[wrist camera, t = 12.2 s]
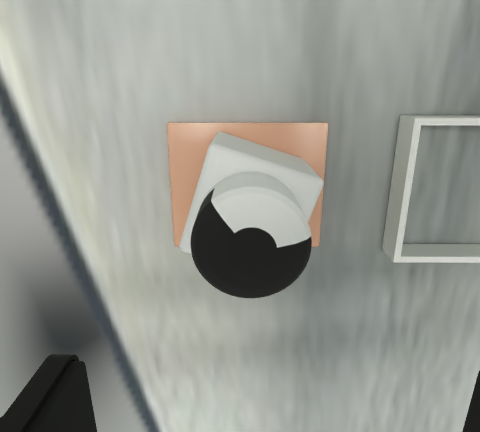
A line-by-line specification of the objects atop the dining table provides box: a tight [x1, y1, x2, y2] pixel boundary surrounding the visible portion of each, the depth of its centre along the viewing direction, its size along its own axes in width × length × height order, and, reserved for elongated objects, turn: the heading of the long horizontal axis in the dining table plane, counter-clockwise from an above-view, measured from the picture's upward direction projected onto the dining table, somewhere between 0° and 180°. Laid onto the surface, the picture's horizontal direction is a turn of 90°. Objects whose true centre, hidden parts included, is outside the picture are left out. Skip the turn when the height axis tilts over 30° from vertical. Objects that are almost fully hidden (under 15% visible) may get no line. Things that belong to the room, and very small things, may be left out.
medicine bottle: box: [179, 132, 324, 298], centre depth 23 cm, size 7×7×12 cm
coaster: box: [167, 122, 328, 247], centre depth 29 cm, size 12×10×1 cm
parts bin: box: [382, 116, 480, 263], centre depth 28 cm, size 11×11×2 cm
